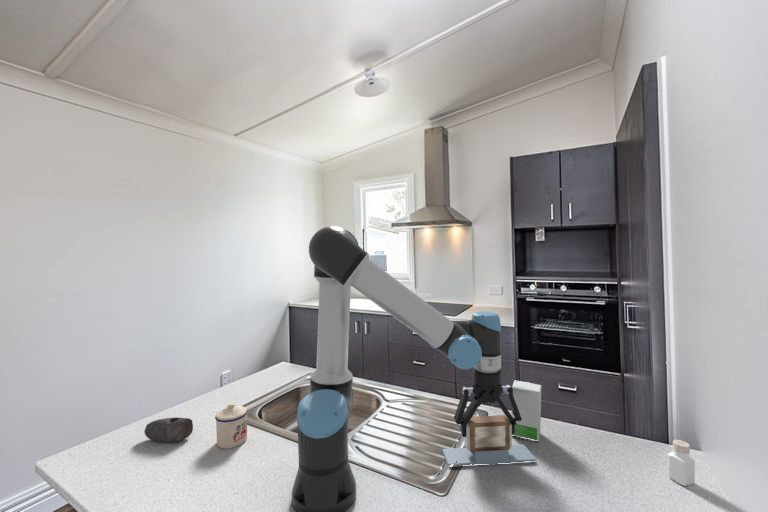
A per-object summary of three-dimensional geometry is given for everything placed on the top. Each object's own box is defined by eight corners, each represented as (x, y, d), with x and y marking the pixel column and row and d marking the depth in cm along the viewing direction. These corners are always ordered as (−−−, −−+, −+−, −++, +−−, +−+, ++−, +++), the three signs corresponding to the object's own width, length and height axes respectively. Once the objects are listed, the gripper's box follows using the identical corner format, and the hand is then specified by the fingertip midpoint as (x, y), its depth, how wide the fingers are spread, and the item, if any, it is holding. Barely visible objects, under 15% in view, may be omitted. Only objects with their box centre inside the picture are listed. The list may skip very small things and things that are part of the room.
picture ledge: (448, 467, 94) (448, 445, 94) (442, 452, 101) (442, 431, 101) (535, 462, 95) (535, 441, 95) (524, 448, 102) (523, 427, 102)
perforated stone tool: (138, 443, 109) (138, 421, 108) (152, 434, 114) (151, 413, 114) (183, 446, 107) (183, 423, 107) (195, 436, 112) (194, 415, 112)
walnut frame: (470, 452, 96) (470, 423, 96) (466, 444, 100) (466, 417, 99) (510, 450, 97) (509, 421, 96) (504, 442, 100) (504, 415, 100)
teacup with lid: (237, 450, 104) (236, 411, 103) (209, 448, 105) (208, 410, 105) (257, 429, 116) (256, 394, 115) (232, 427, 117) (231, 393, 117)
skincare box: (510, 436, 109) (510, 386, 108) (513, 426, 114) (513, 379, 114) (540, 443, 105) (540, 391, 104) (541, 432, 111) (541, 383, 110)
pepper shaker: (684, 487, 85) (684, 449, 85) (666, 477, 89) (666, 440, 88) (695, 484, 86) (696, 446, 86) (678, 474, 90) (678, 437, 89)
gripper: (448, 375, 93) (449, 456, 94) (534, 371, 94) (535, 451, 95) (442, 365, 101) (443, 441, 101) (522, 362, 102) (522, 436, 103)
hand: (487, 446), depth 98 cm, fingers closed on walnut frame, 11 cm apart
